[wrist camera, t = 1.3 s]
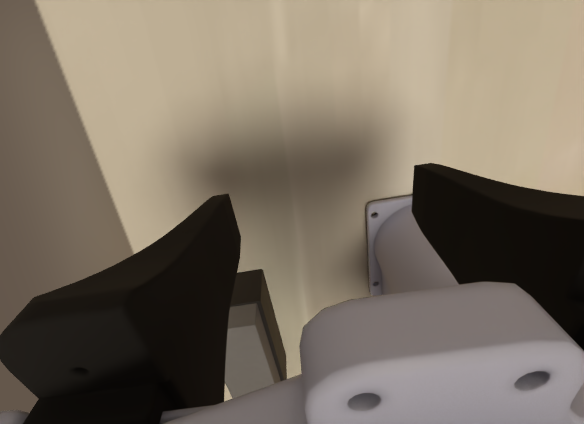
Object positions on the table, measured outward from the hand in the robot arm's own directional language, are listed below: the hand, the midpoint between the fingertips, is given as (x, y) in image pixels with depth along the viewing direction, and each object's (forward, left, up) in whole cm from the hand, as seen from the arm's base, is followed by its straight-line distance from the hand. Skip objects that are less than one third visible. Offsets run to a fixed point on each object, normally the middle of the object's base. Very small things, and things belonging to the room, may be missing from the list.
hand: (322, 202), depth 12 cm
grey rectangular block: (-17, +7, -9) cm, 20 cm away
